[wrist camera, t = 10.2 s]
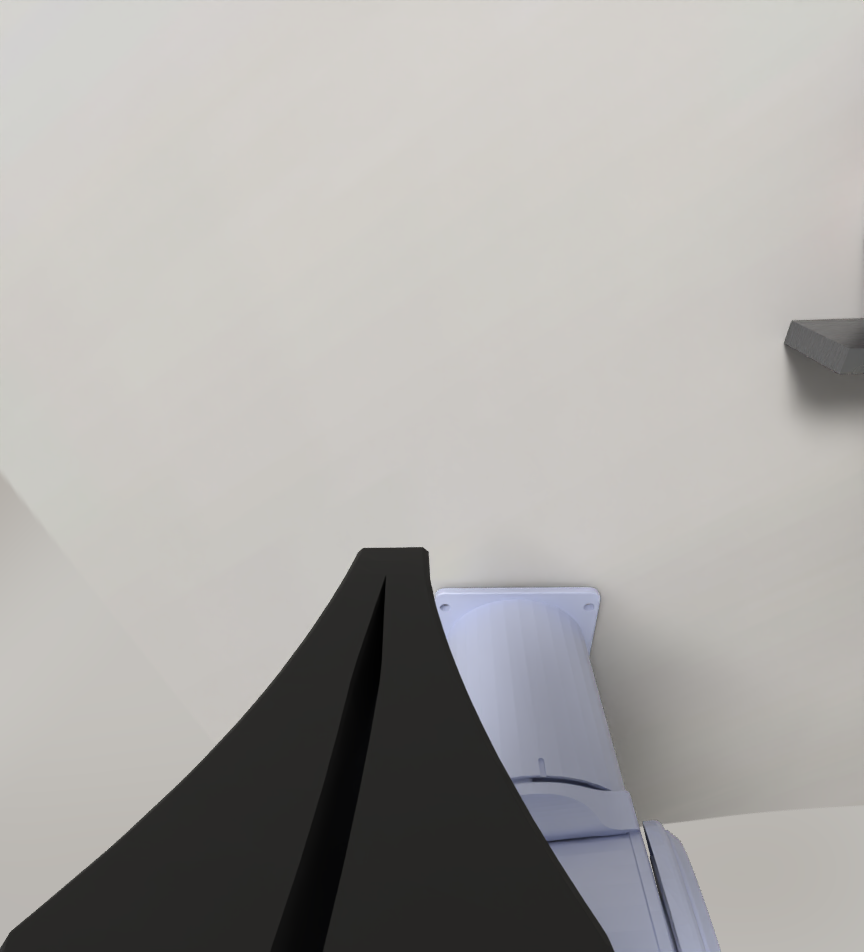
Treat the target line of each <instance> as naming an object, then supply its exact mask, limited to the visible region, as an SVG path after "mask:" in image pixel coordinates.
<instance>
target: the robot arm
mask: <svg viewBox="0 0 864 952" xmlns="http://www.w3.org/2000/svg"><path fill="white" fill-rule="evenodd" d="M600 600H601V598H600V594H599V591H598V590H597V589H595V588H592V587H546V588H442V589H439V590H438V591H437V592H436V593H435V599H434V595H433V590H432V586H431V581H430V569H429V552H428V551H427V550H426V549H424V548H423V547H408V548H363V549H362V550H360V551H359V552H358V554H357V556H356V558H355V560H354V561H353V563H352V565H351V567H350V569H349V571H348V572H347V574H346V576H345V578H344V579H343V581H342V583H341V584H340V586H339V588H338V589H337V591H336V592H335V594H334V596H333V597H332V599H331V601H330V602H329V604H328V605H327V607H326V608H325V610H324V611H323V613H322V614H321V616H320V617H319V619H318V620H317V622H316V623H315V625H314V626H313V628H312V629H311V631H310V632H309V633H308V635H307V636H306V638H305V639H304V640H303V642H302V643H301V644H300V646H299V647H298V648H297V650H296V651H295V653H294V654H293V655H292V657H291V658H290V659H289V661H288V662H287V663H286V665H285V666H284V667H283V669H282V670H281V671H280V673H279V674H278V675H277V676H276V678H275V679H274V680H273V681H272V683H271V684H270V685H269V686H268V688H267V689H266V690H265V691H264V692H263V694H262V695H261V696H260V697H259V698H258V700H257V701H256V702H255V703H254V704H253V705H252V707H251V708H250V709H249V710H248V711H247V712H246V713H245V715H244V716H243V717H242V718H241V719H240V720H239V721H238V723H237V724H236V725H235V726H234V727H233V728H232V729H231V730H230V731H229V732H228V733H227V734H226V735H225V737H224V738H223V739H222V740H221V741H220V742H219V743H218V744H217V745H216V746H215V747H214V748H213V750H211V752H210V753H209V754H208V755H207V756H206V757H205V758H204V759H203V760H202V761H201V762H200V763H199V764H198V765H197V766H196V767H195V768H194V769H193V770H192V771H191V772H190V773H189V774H188V775H187V776H186V777H185V778H184V779H183V780H182V781H181V782H180V783H179V784H178V785H177V786H176V787H175V788H174V789H173V790H172V791H171V792H170V793H168V794H167V795H166V796H165V797H164V798H163V799H162V800H161V801H160V802H159V803H158V804H157V805H156V806H155V807H153V808H152V809H151V810H150V811H149V812H148V813H147V814H146V815H145V816H144V817H143V818H142V819H141V820H140V821H139V822H137V823H136V825H134V826H133V827H132V828H131V829H130V830H129V831H128V832H127V833H126V834H125V835H124V836H123V837H121V839H119V840H118V841H117V842H116V843H115V844H114V845H113V846H111V847H110V848H109V849H108V850H107V851H106V852H105V853H104V854H102V855H101V856H100V857H99V858H98V859H96V860H95V861H94V862H93V863H92V864H90V865H89V866H88V867H87V868H86V869H84V870H83V871H82V872H81V873H80V874H79V875H77V876H76V877H75V878H74V879H73V880H71V881H70V882H69V883H68V884H67V885H66V886H64V887H63V888H62V889H61V890H60V891H58V892H57V893H56V894H55V895H54V896H53V897H51V898H50V899H49V900H48V901H47V902H45V903H44V904H43V905H42V906H41V907H40V908H38V909H37V910H36V911H35V912H34V913H32V914H31V915H30V916H29V917H27V918H26V919H25V920H24V921H23V922H21V923H20V924H19V925H18V926H17V927H15V928H14V929H13V930H12V931H11V932H10V933H9V935H8V937H7V938H6V940H5V942H4V943H3V945H2V946H1V948H0V952H721V950H720V947H719V944H718V940H717V937H716V935H715V931H714V928H713V926H712V922H711V919H710V916H709V913H708V910H707V907H706V905H705V902H704V899H703V896H702V893H701V890H700V887H699V885H698V882H697V879H696V876H695V874H694V871H693V869H692V866H691V863H690V861H689V858H688V856H687V854H686V851H685V849H684V847H683V845H682V843H681V841H680V840H679V839H678V838H677V837H675V836H674V835H673V834H672V833H670V832H669V831H668V830H665V829H664V827H663V825H662V824H661V823H660V822H659V821H657V820H650V821H643V828H644V832H645V836H646V840H647V844H648V848H649V852H650V860H651V864H652V869H653V872H652V869H651V866H650V863H649V859H648V856H647V852H646V849H645V845H644V842H643V838H642V835H641V832H640V828H639V824H638V821H637V817H636V813H635V810H634V806H633V803H632V799H631V796H630V793H629V792H628V791H626V790H625V786H624V783H623V779H622V775H621V772H620V768H619V764H618V761H617V757H616V754H615V750H614V746H613V743H612V739H611V735H610V732H609V728H608V724H607V721H606V717H605V713H604V710H603V706H602V702H601V699H600V695H599V691H598V688H597V684H596V681H595V677H594V673H593V670H592V666H591V662H590V659H589V656H590V651H591V646H592V641H593V635H594V630H595V625H596V620H597V615H598V610H599V605H600ZM589 603H590V604H589ZM443 604H448V605H446V606H445V605H443ZM586 604H589V605H586ZM653 873H654V876H653ZM654 877H655V880H654ZM655 881H656V883H655ZM656 885H657V887H656ZM657 888H658V890H657ZM658 892H659V894H658ZM659 896H660V897H659Z"/></svg>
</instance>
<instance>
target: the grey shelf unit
mask: <svg viewBox="0 0 864 952" xmlns="http://www.w3.org/2000/svg"><path fill="white" fill-rule="evenodd" d="M784 344H786V345H788V346H790V347H792V348H793V349H795V350H797V351H799V352H800V353H802V354H804V355H806V356H808V357H809V358H811V359H813V360H815V361H816V362H818V363H820V364H822V365H823V366H825V367H827V368H829V369H831V370H832V371H834V372H836V373H838V374H864V318H860V319H829V320H797V321H792V322H791V325H790V328H789V331H788V334H787V337H786V340H785V343H784Z"/></svg>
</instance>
